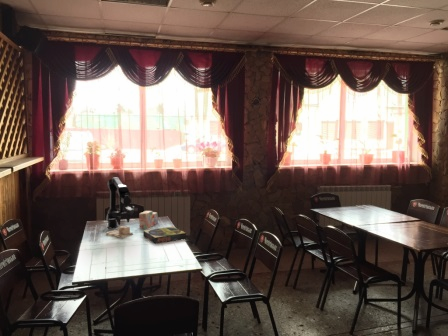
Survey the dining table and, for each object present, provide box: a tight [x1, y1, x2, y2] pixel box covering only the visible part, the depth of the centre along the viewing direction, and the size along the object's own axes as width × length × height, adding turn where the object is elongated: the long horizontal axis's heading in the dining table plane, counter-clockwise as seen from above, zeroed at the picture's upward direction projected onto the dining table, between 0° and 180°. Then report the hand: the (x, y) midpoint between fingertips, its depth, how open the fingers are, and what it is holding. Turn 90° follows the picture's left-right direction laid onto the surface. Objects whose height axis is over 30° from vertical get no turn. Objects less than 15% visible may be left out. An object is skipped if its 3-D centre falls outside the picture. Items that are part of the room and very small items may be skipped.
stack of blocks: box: [138, 210, 159, 230], centre depth 336 cm, size 21×6×12 cm, turn 164°
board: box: [105, 229, 134, 239], centre depth 307 cm, size 18×10×2 cm, turn 60°
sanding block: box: [118, 225, 131, 235], centre depth 304 cm, size 7×4×5 cm, turn 60°
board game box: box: [142, 225, 187, 245], centre depth 297 cm, size 24×24×5 cm
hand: (123, 223), depth 304 cm, fingers open, 9 cm apart
